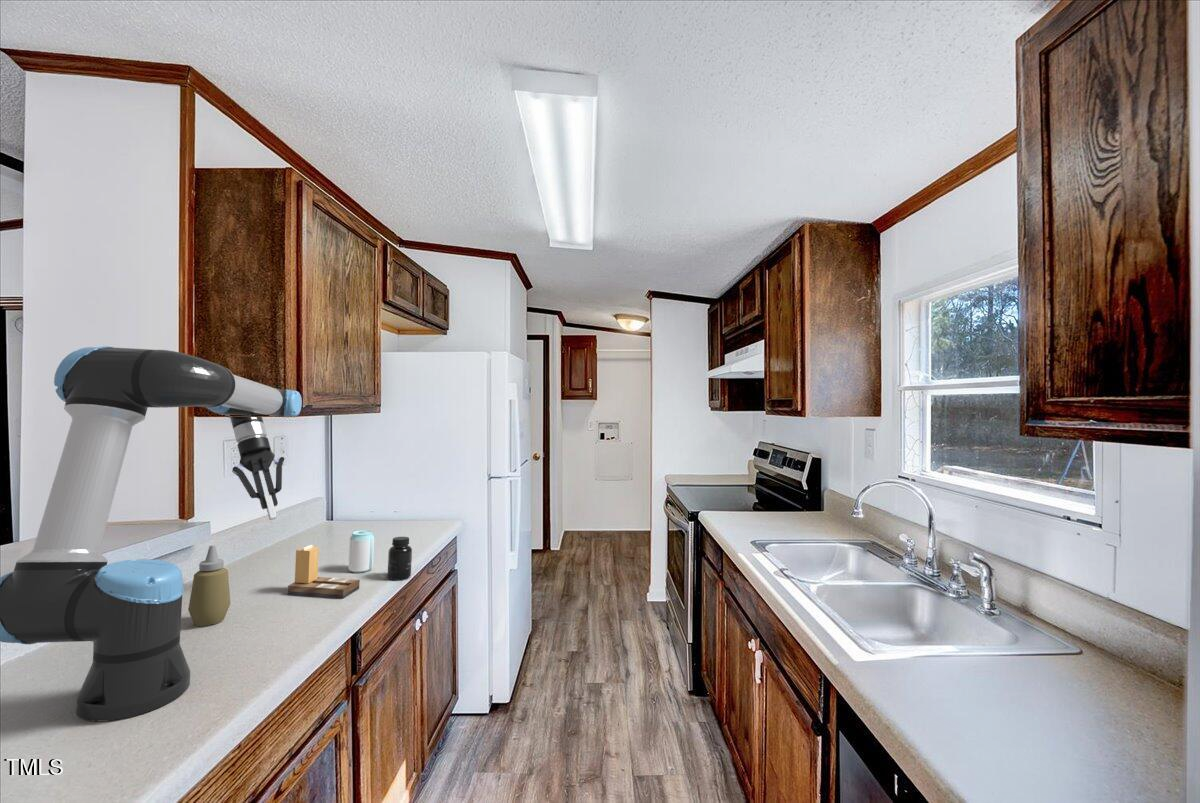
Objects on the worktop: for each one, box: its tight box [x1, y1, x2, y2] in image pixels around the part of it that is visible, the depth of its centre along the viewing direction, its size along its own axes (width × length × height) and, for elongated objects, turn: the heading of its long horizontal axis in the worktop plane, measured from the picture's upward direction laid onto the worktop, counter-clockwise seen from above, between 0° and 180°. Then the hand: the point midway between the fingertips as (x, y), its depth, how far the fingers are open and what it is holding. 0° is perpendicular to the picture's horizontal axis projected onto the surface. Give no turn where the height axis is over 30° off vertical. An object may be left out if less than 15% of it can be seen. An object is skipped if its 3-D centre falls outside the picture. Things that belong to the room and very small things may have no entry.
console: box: [287, 576, 361, 600], centre depth 146 cm, size 16×8×3 cm, turn 85°
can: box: [348, 529, 375, 574], centre depth 165 cm, size 7×7×12 cm
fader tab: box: [294, 544, 320, 583], centre depth 146 cm, size 4×4×11 cm
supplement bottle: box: [386, 536, 413, 581], centre depth 160 cm, size 7×7×12 cm
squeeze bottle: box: [188, 545, 231, 627], centre depth 124 cm, size 8×8×18 cm
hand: (273, 518), depth 146 cm, fingers closed
